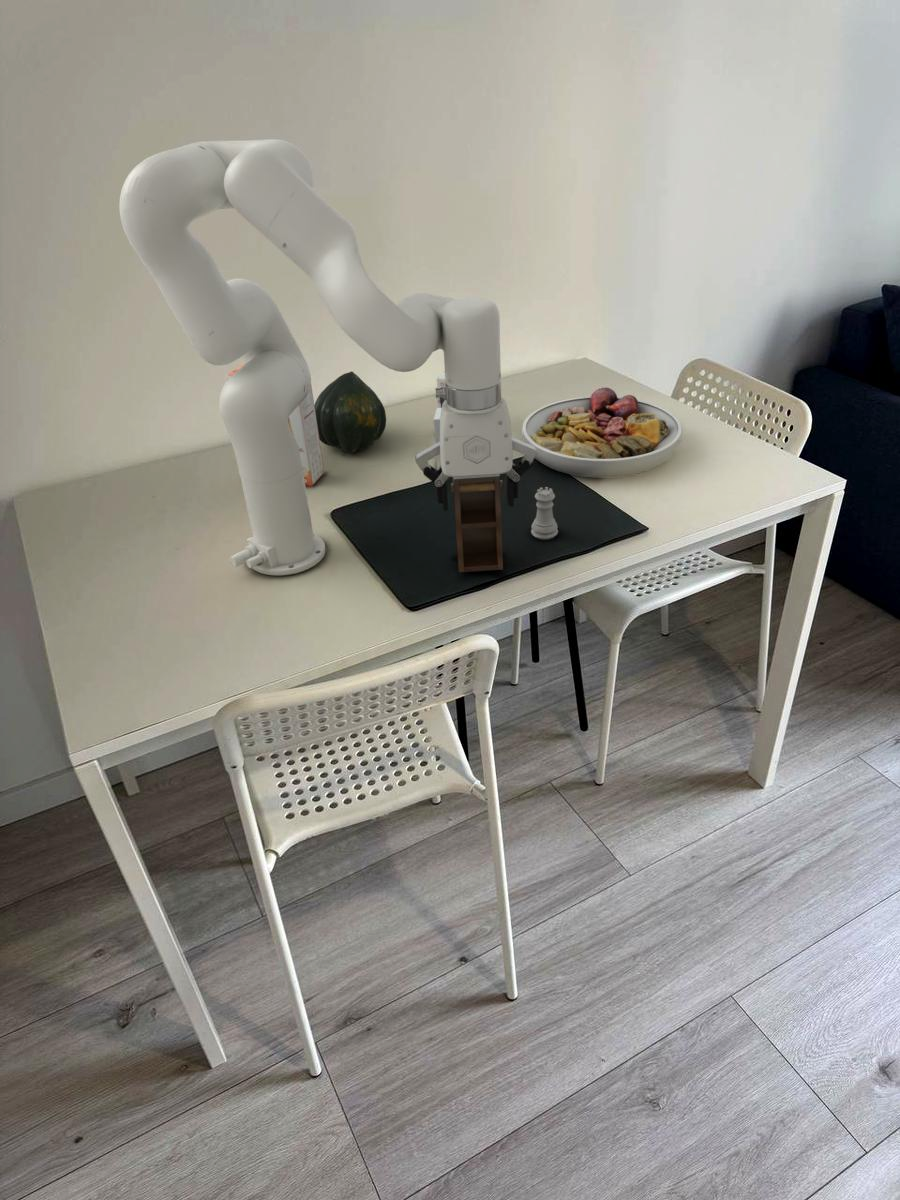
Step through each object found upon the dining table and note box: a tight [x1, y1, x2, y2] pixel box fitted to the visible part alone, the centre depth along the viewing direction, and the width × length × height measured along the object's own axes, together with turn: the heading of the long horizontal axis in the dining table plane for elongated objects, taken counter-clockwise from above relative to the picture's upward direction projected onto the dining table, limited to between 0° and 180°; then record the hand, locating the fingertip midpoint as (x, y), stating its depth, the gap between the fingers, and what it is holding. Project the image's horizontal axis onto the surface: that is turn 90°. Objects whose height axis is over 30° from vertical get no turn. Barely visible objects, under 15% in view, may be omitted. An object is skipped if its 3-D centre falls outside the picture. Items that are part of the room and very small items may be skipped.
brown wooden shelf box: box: [450, 474, 504, 573], centre depth 132 cm, size 15×8×6 cm
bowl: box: [521, 387, 683, 479], centre depth 166 cm, size 30×30×8 cm
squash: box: [314, 371, 387, 454], centre depth 173 cm, size 14×15×15 cm
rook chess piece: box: [530, 486, 559, 541], centre depth 141 cm, size 4×4×8 cm
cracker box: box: [225, 364, 325, 487], centre depth 160 cm, size 14×6×21 cm, turn 73°
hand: (477, 504), depth 128 cm, fingers open, 9 cm apart
